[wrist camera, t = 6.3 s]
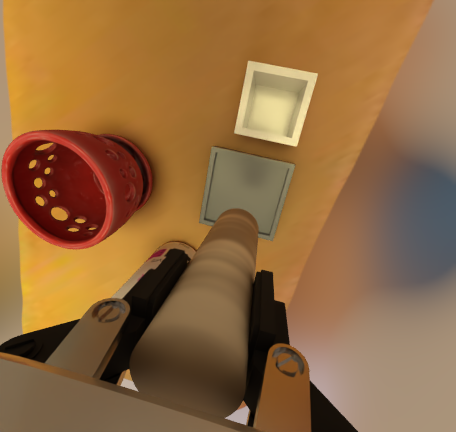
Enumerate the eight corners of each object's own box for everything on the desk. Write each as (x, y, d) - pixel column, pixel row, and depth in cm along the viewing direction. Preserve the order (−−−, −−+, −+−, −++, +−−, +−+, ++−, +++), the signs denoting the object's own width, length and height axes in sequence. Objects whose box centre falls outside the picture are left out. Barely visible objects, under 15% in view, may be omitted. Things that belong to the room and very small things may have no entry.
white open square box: (252, 78, 28) (248, 60, 22) (305, 88, 28) (318, 73, 21) (240, 134, 31) (234, 133, 24) (289, 144, 30) (296, 146, 24)
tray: (214, 145, 32) (212, 146, 30) (293, 163, 31) (295, 164, 29) (201, 219, 35) (199, 222, 34) (272, 236, 35) (272, 241, 33)
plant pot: (66, 149, 35) (-28, 154, 24) (139, 118, 32) (71, 108, 21) (105, 226, 38) (39, 263, 27) (174, 205, 35) (132, 237, 24)
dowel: (219, 204, 19) (132, 316, 6) (263, 213, 18) (257, 351, 6) (212, 243, 20) (126, 402, 8) (253, 253, 20) (232, 435, 7)
